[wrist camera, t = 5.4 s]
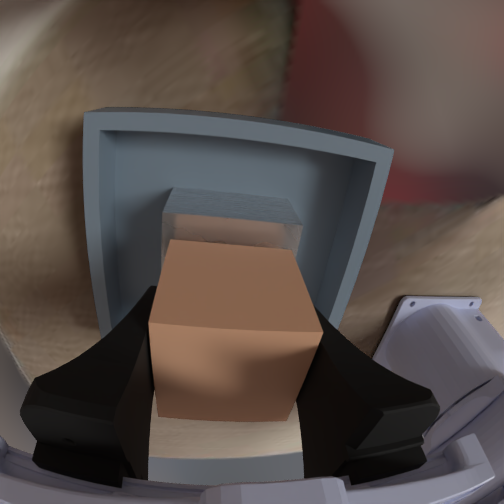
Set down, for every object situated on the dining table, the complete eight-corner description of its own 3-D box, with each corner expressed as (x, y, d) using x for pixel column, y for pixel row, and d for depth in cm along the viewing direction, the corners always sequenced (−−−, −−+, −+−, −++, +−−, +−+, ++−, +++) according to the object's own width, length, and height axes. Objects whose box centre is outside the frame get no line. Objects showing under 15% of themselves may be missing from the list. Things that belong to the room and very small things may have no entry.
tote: (368, 138, 16) (394, 149, 14) (312, 335, 23) (322, 365, 20) (106, 107, 14) (83, 112, 11) (114, 322, 21) (104, 353, 18)
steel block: (287, 198, 17) (303, 225, 14) (268, 292, 20) (277, 330, 17) (173, 187, 16) (162, 212, 13) (169, 284, 19) (162, 322, 16)
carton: (291, 249, 14) (323, 332, 9) (270, 336, 16) (286, 420, 12) (170, 239, 13) (148, 322, 8) (169, 330, 15) (158, 416, 11)
